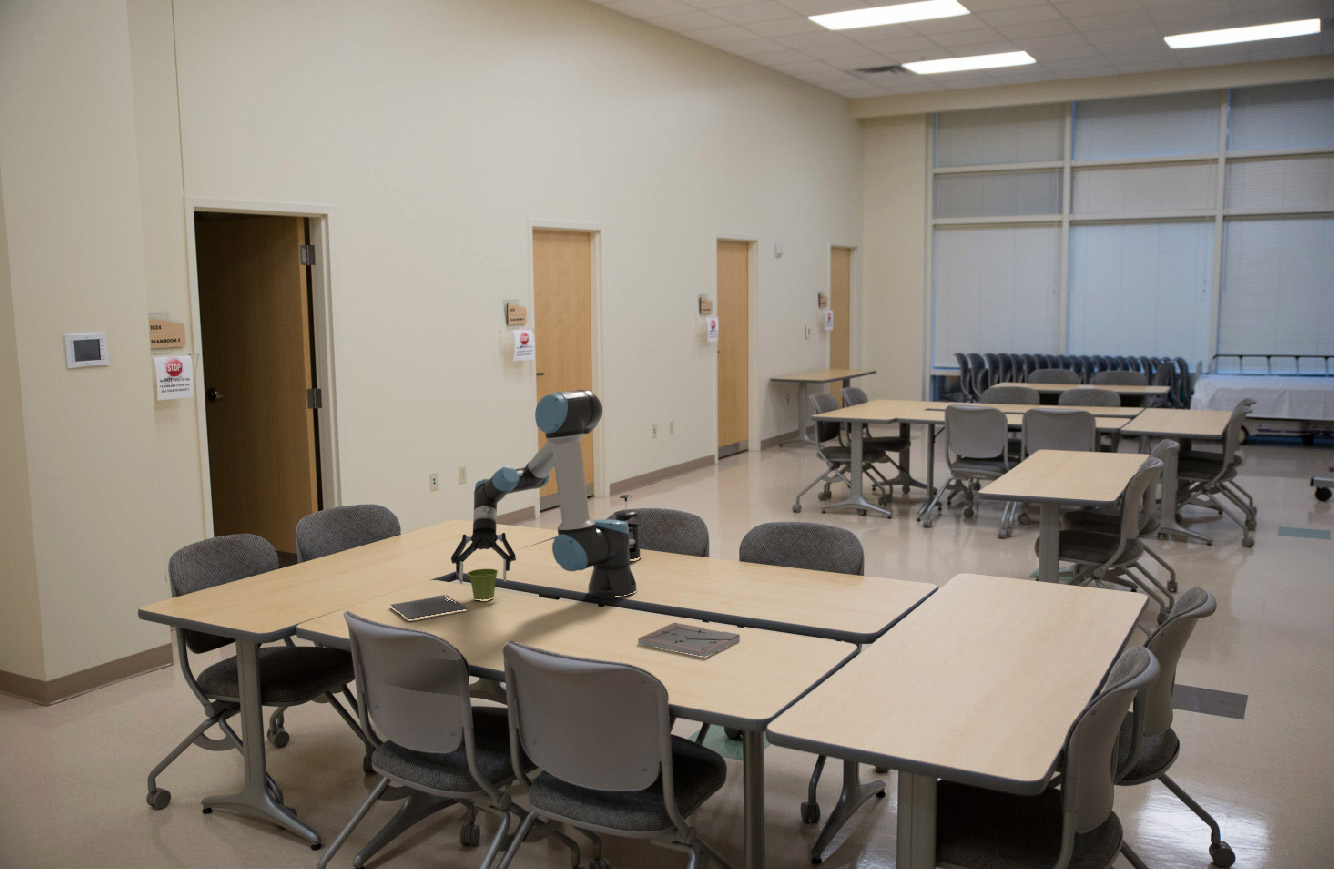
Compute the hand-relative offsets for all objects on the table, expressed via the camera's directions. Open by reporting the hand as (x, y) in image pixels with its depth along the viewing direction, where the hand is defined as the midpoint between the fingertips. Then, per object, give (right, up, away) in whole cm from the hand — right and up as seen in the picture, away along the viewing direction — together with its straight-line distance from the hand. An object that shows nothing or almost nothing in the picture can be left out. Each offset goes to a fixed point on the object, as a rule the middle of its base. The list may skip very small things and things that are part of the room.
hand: (482, 580), depth 327 cm
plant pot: (0, -6, +1) cm, 6 cm away
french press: (+43, +1, +47) cm, 64 cm away
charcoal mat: (-15, -8, -8) cm, 19 cm away
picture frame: (+63, -11, -47) cm, 80 cm away
